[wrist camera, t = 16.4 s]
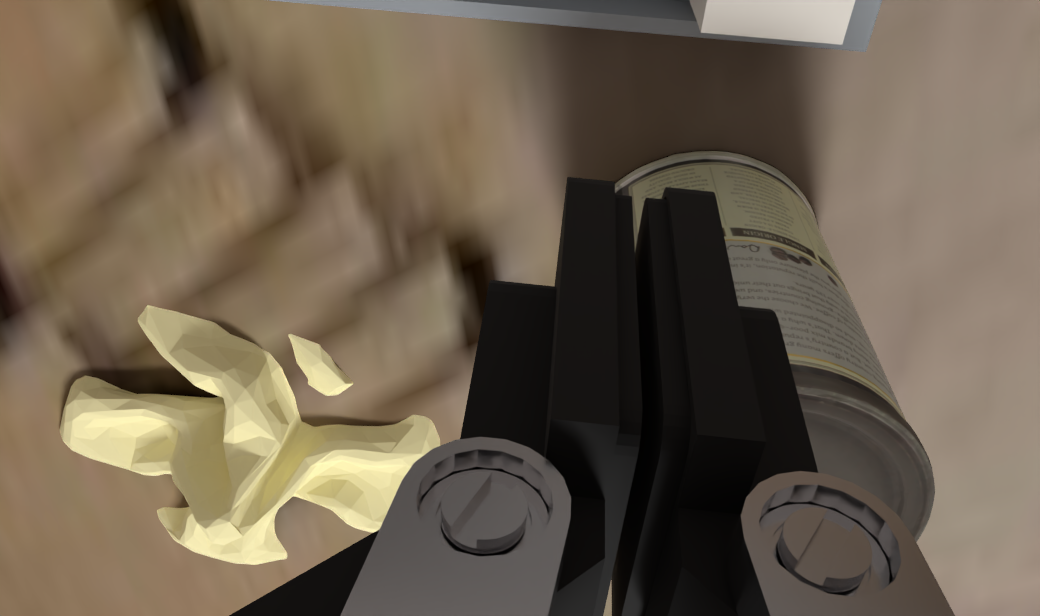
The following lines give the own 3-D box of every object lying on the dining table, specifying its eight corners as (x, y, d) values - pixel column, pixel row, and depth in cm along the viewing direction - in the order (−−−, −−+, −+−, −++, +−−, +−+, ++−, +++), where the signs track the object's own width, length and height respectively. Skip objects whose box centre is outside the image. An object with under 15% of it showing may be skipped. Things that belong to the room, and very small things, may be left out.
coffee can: (823, 334, 39) (926, 607, 28) (596, 364, 41) (606, 634, 30) (820, 124, 33) (949, 364, 22) (554, 170, 35) (546, 414, 24)
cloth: (511, 493, 47) (504, 590, 42) (253, 591, 54) (221, 685, 49) (231, 173, 36) (178, 253, 31) (-51, 343, 43) (-132, 432, 38)
